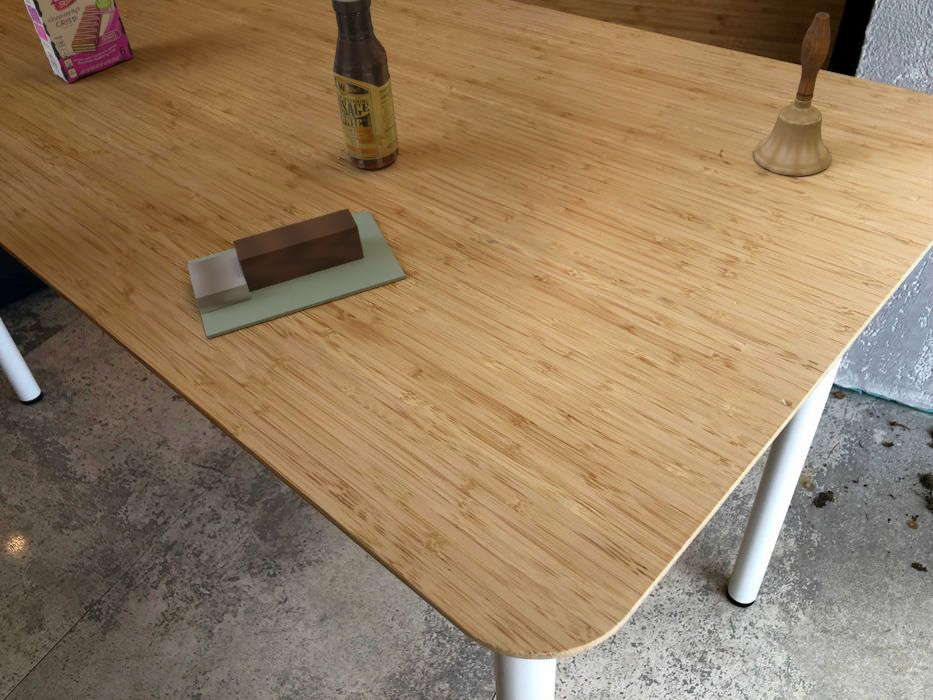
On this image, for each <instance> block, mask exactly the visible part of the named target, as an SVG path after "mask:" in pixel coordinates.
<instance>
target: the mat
mask: <svg viewBox="0 0 933 700" xmlns="http://www.w3.org/2000/svg"><path fill="white" fill-rule="evenodd" d="M351 215H352V217H353V218H354V220H355V222H356V224H357V226H358V230H359V235H360V240H361V245H362V250H363V254H364V258H362V259H358V260H355V261H352V262H348V263H345V264H342V265H338V266H335V267H331V268H328V269H325V270H321V271H318V272H315V273H311V274H308V275H305V276H301V277H298V278H295V279H291V280H288V281H285V282H281V283H278V284H275V285H271V286H268V287H265V288H261V289H258V290H255V291H251V292H250V291H249V292H250V295H251V298H252V299H250V300H247V301H243V302H240V303H237V304H233V305H230V306H227V307H223V308H220V309H217V310H213V311H210V312H207V313H203V314H202V313H201V311H200V310H199V312H200V316H201V321H202V323H203V327H204V332H205V336H206V339H207V340H209V339H213V338H217V337H220V336H222V335H226V334H230V333H233V332H235V331H238V330H239V331H240V330H242V329H246V328H248V327H251V326H255V325H258V324H260V323H261V324H262V323H264V322H268V321H271V320H274V319H278V318H280V317H285V316H287V315H291V314H294V313H297V312H300V311H304V310H307V309H310V308H314V307H317V306H320V305H324V304H327V303H330V302H334V301H337V300H339V299H343V298H346V297H350V296H353V295H356V294H359V293H362V292H366V291H369V290H372V289H376V288H379V287H382V286H385V285H388V284H392V283H395V282H398V281H402V280H405V279H407V276H406V273H405V271H404V270H403V268H402V266H401V265H400V262H399V261H398V259H397V257H396V256H395V253H394V252H393V251H392V249H391V247H390V246H389V243H388V242H387V240H386V238H385V236H384V235H383V233H382V231H381V229H380V227H379V226H378V224H377V222H376V220H375V219H374V217H373V216H372V213H371V211H370V210H369V209H366V210H361V211H359V212H356V213H351ZM233 251H236V249H235V247H233V248H229V249H226V250H222V251H219V252H215V253H212V254H208V255H205V256H202V257H197V258H194V259H191V260H187V265H188V264H192V263H195V262H199V261H202V260H206V259H209V258H213V257H216V256H219V255H223V254H226V253H230V252H233Z"/></svg>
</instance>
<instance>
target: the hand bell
mask: <svg viewBox="0 0 933 700" xmlns="http://www.w3.org/2000/svg"><path fill="white" fill-rule="evenodd" d="M830 45H831V26H830V14H829V13H828V12H826V11H825V12H823V11H819V12H817V13H816V14H815V16H814V18H813V20H812V22H811V24H810V25H809V27H808V28H807V31H806V33H805V35H804V37H803V40H802V45H801V52H800V65H801V75H800V80H799V82H798V87H797V91H796V94H795V98H794V102H793V103H790V104H787V105H784V106H783V107H782V108H780V110H779V111H778V114H777V117H776V120H775V123H774V126H773V128H772V130H771V131H770V133H769V134H768V135H767V136H766V137H765V138H764V139H762V140H760V141H759V142H758V143H757V145H756V146H755V147H754V149H753V153H752V155H753V159H754V161H755V162H756V163H757V164H758V165H759V167H762V168H764V169H766V170H768V171H770V172H772V173H775V174H780V175H784V176H798V177H799V176H800V177H802V176H809V175H810V176H811V175H815V174H819V173H820V172H822V171H824V170H826V169H827V168H828V167H829V166H830V165H831V163H832V159H833V155H832V153H831V151H830V149H829V147H828V146H827V145H826V144H825V142H824V140H823V136H822V122H823V114H822V111H821V110H820V109H819V108H817V107H815V106H813V105H812V102H813V101H812V100H813V98H814V91H815V87H816V81H817V77H818V74H819V72H820V70H821V69H822V66H824V62H825V61H826V58H827V56H828V54H829V53H828V52H829V49H830Z"/></svg>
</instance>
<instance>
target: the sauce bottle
mask: <svg viewBox="0 0 933 700" xmlns="http://www.w3.org/2000/svg"><path fill="white" fill-rule="evenodd" d="M331 4H332V5H331V6H332V9H333V11H334V14H335V20H336V26H337V38H336V47H335V52H334V61H333V67H332V74H333V79H334V86H335V91H336V98H337V104H338V110H339V115H340V121H341V126H342V133H343V139H344V144H345V150H346V152H347V156H348V159H349V161H350V163H351V164H352V165H353V166H355V167H356V168H359V169H365V170H370V171H371V170H372V171H373V170H379V169H381V168H385V167H387V166H389V165H391V164H392V163H394V162H395V161H396V159H397V158H398V155H399V140H398V139H399V138H398V129H397V121H396V114H395V106H394V98H393V96H394V95H393V89H392V88H393V87H392V81H391V74H390V72H389V71H390V70H389V63H388V56H387V55H388V54H387V50H386V49H385V47H384V46H383V44H382V43H381V41H380V40H379V39H378V38H377V36H376V35H375V32H374V30H375V29H374V26H373V20H372V13H371V5H372V0H331Z"/></svg>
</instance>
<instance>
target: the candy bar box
mask: <svg viewBox="0 0 933 700" xmlns="http://www.w3.org/2000/svg"><path fill="white" fill-rule="evenodd" d="M23 2H24V5H25V7H26V10H27V12H28V14H29V16H30V19H31V22H32V23H33V26H34V29H35V31H36V34H37V36H38V38H39V41H40V43H41V45H42V48H43V50H44V52H45V55H46V58H47V59H48V62H49V65H50V67H51V69H52V71H53V73H54V75H55V76H56V77H58V78H60V79H61V80H62V81H64V82H65V83H67V84H70V83H73V82H75V81H77V80H81V79H83V78H85V77H88V76H90V75H93V74H96V73H98V72H101V71H103V70H106V69H108V68H111V67H113V66H115V65H118V64H121V63H123V62H125V61H128V60H131V59H134V58H135V56H134V53H133V48H132V47H131V46H132V45H131V43H130V41H129V38H128V35H127V32H126V29H125V26H124V23H123V21H122V18H121V14H120V10H119V9H118V6H117V4H116V3H117V2H116V1H115V0H23Z"/></svg>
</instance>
